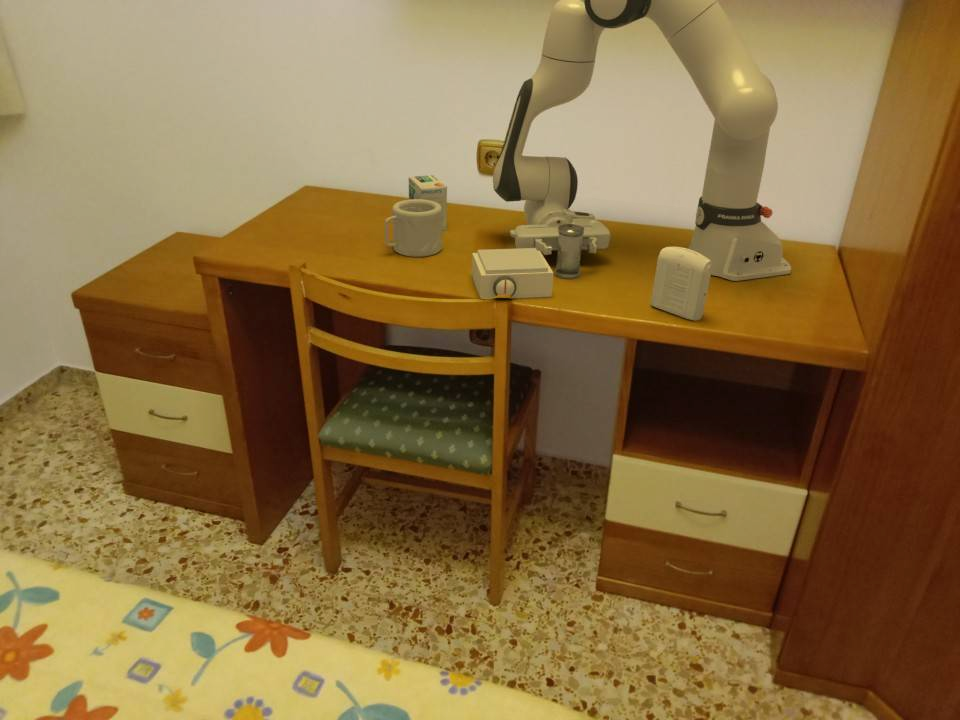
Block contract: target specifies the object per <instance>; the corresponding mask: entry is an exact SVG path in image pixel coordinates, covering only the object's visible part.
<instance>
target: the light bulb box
mask: <svg viewBox="0 0 960 720" xmlns="http://www.w3.org/2000/svg"><path fill="white" fill-rule="evenodd" d="M447 197H448V185H446V184H445V183H444V182H442V181H441V180H440V179H439V178H438V177H437V176H435V175H434V174H430V175H429V174H428V175H419V176H418V175H417V176H408V200H411V199H423V200H430V201H434V202H437V203H438V204H440V205H441V207H442V232H443V231H444V232H445V231H447V225H448V224H447V219H448V217H447V215H448V214H447V208H448V205H447V203H448V201H447V200H448V198H447Z"/></svg>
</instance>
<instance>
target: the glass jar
mask: <svg viewBox="0 0 960 720" xmlns="http://www.w3.org/2000/svg"><path fill="white" fill-rule="evenodd" d="M558 232H559V238H558V250H556V251H557V254H556V264H555V265H556V266H555V269H554V275H555V276H556V277H558V278H559V279H566V280H573V279H577V278H579V277H580V276H581V270H580V265H581V258H582V257H581V256H582V249H581V247H582V236H583V234H584V228H583V227H582V226H579V225H575V224H563V225H560V226H559V227H558Z"/></svg>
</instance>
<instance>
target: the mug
mask: <svg viewBox="0 0 960 720" xmlns="http://www.w3.org/2000/svg"><path fill="white" fill-rule="evenodd" d="M391 211H392V213H391V215H392V216H389V217H387V218H386V219H385V221H384V241H385V242H384V243H385V245H386V246H387V247H388V248H389V247H391V248H393V249H394V251H395V252H396V253H398V254H399V255H401V256H405V257H413V258H422V257H431V256H433V255H436V254H438V253H439V252H440V251H441V250H442V247H443V231H442V207H441V205H440V204H438V203H437V202H434V201H430V200H423V199H411V200H409V199H405V200H399V201H397V202H396V203H394V204H393V206H392V209H391ZM391 221H392V240H393V241H392V242H393V243H391V242H389V240H390V239H389V222H391Z"/></svg>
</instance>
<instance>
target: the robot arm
mask: <svg viewBox="0 0 960 720" xmlns="http://www.w3.org/2000/svg"><path fill="white" fill-rule="evenodd" d="M643 18H648V19H650V20H651V21H652V22H653V23H655V25H656V26H657V27H658V29H659V30H660V31H661V33H662V35H663V36H664V38H665V39H666V41H667V42H668V45H670V47H671V49H672V50H673V51H674V54H675V55H676V57H677V58H678V59H679V61H680V63H681V64H682V65H683V67H684V68H685V70H686V72H687V73H688V74H689V76H690V78H691V80H692V81H693V83H694V85H695V87H696V89H697V90H698V92H699V94H700V95H701V97H702V99H703V101H704V103H705V105H706V106H707V107H708V109H709V111H710V112H711V114H712V117H713V118H714V122H713V126H712V127H713V128H712V134H711V140H710V146H709V150H708V158H707V162H706V163H707V164H706V168H705V169H706V170H705V175H704V180H703V187H702V193H701V196H700V197H699V198H698V199H699V200H698V203H697V209H696V213H695V225H694V230H693V234H692V238H691V240H690V244H689V246H688V248H687V249H690V250H693V251H695V252H698V253H700V254H702V255H703V256H705V257H706V258H708V259H709V260H710V261H711V262H712V271H711V276H716V277H720V278H722V279H725V280H729V281H734V282H739V281H744V280H745V281H746V280H752V279H753V280H754V279H760V278H761V279H762V278H767V277H777V276H783V275H785V276H786V275H789V274H791V271H792V265H791V264H790V263H789V262H788V261H787V260H786V259H785V257H783V251H784V250H783V243H782V240H781V239H780V238H779V236H777V235H776V233H774V232H773V231H772V230H771V229H770V227H768V226H767V225H766V224H765V223H764V222H763V220H762V217H764V218H765V219H769V218H771V217H772V216H773V214H774V213H773V210H772V208H769V207H768V206H763V205H761V204H760V203H759V202H757V201H758V197H759V192H760V187H761V182H762V177H763V172H764V167H765V162H766V155H767V148H768V142H769V141H768V140H769V136H770V132H771V131H770V130H771V127H772V126H773V124H774V122H775V121H776V118H777V115H778V108H779V105H778V104H779V103H778V98H777V93H776V89H775V86H774V84H773V82H772V81H771V79H770V78H768V76H766V75H765V74H764V73H763V72H762V71H761V68H760V67H759V66H758V64H757V62H756V60H755V59H754V58H753V56H752V54H751V51H750V50H749V49H748V47H747V46H746V44H745V42H744V40H743V38H742V37H741V35H740V34H739V32H738V31H737V29H736V28H735V26H734V24H733V23H732V21H731V19H730V18H729V16H728V14H727V13H726V11H725V10H724V9H723V6H721V4H720V2H719V1H718V0H558V1H557V2H556V3H555V4H554V5H553V7H552V9H551V12H550V16H549V19H548V22H547V26H546V30H545V33H544V34H545V35H544V38H543V39H544V40H543V42H542V43H543V44H542V49H541V50H542V51H541V57H540V62H539V64H538V66H537V68H536V71H535V72H534V74H533V75H532V76H531V78H528V79H526V80H524V82H523V83H522V85H521V87H520V89H519V91H518V94H517V97H516V100H515V104H514V105H513V110H512V113H511V116H510V119H509V124H508V127H507V130H506V134H505V138H504V140H503V141H504V142H503V145H502V148H501V151H500V153H499V156H498V159H497V161H496V165H495V168H494V170H493V174H492V185H493V191H494V192H495V193H496V194H497V195H498V197H500V198H501V199H502V200H503V201H505V202H508V203H509V202H521V201H525V202H524V206H523V211H524V212H523V213H524V218H525V222H526V223H527V224H521V225H517V226H516V227H515V229H510V231H509V235H510V237H512V238H514V245H515V249H520V248H536V249H537V251H540V252H541V254H542V255H543V256H548V255H552V253H553V252H552V251H558V238H559V232H558V227H559V226H560V225H563V224H575V225H579V226H582V227H583V228H584V234H583V236H582V247H581V250H586V252H587V253H588V254H596V253H597V250H601V249H602V250H606V249H608V248H609V246H610V242H611V231H610V230H609V229H608V228H607V227H606V225H605V224H604V223H602V222H601V221H599V220H597V219H595V215H594V214H593V213H590V212H581V211H574V210H571V206H572V205H573V203H574V202H575V199H576V196H577V193H578V185H579V184H578V179H579V178H578V174H577V171H576V169H575V167H574V165H573V164H572V162H571V161H570V160H569V159H568V158H567V157H562V156H561V157H560V156H532V155H531V156H529V155H523V152H524V149H525V145H526V142H527V139H528V137H529V131H530V129H531V125H532V123H533V121H534V120H535V119H536V117H538V116H539V115H540V114H541V113H544V112H545V111H547V110H550V109H552V108H555V107H559V106H561V105H564V104H567V103H569V102H572V101H574V100H575V99H578V97H580V96H581V95H582V94H584V92H586V90H587V89H588V88H589V86H590V84H591V80H592V78H593V73H594V69H595V64H596V63H595V62H596V56H597V51H598V45H599V40H600V38H601V35H602V33H603V31H604V30H605V29H618V28H621V27H624V26H627V25H630V24H632V23H634V22H636V21H638V20H641V19H643ZM761 216H762V217H761Z"/></svg>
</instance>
